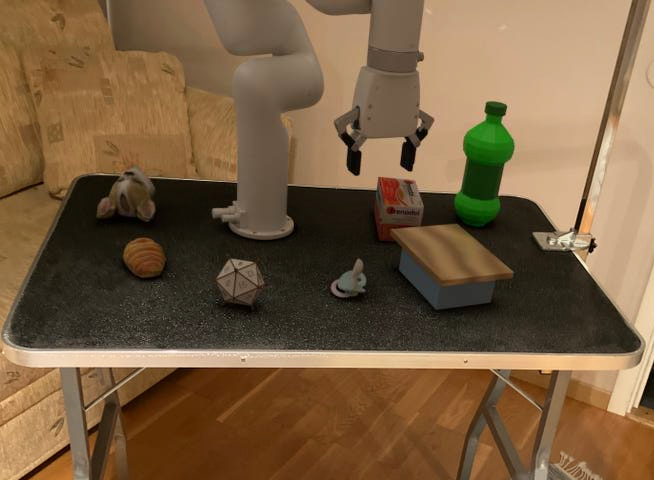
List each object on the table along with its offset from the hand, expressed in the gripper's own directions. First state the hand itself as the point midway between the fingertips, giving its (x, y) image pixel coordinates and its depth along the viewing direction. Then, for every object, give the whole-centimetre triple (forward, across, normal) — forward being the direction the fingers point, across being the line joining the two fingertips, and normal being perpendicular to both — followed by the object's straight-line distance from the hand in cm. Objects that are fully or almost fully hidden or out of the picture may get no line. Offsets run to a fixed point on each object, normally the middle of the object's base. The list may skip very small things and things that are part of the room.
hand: (380, 170), depth 121 cm
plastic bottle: (+21, -36, -20) cm, 46 cm away
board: (+15, -13, +4) cm, 20 cm away
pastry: (+21, +35, -16) cm, 44 cm away
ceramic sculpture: (+20, +32, -38) cm, 54 cm away
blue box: (+21, -13, +4) cm, 25 cm away
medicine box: (+21, -17, -21) cm, 34 cm away
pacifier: (+21, +5, +1) cm, 22 cm away
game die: (+21, +24, 0) cm, 32 cm away
